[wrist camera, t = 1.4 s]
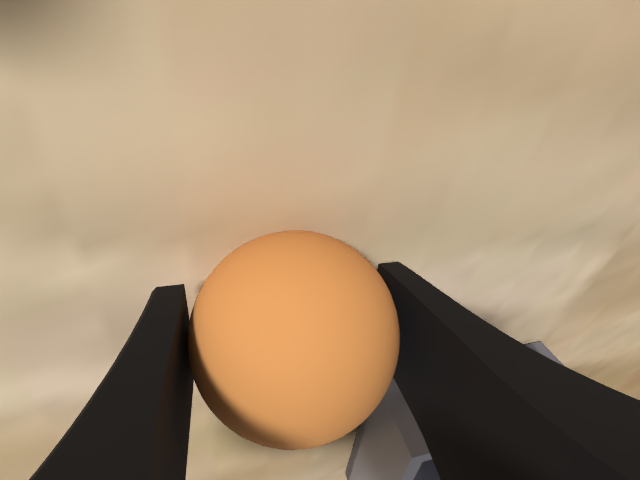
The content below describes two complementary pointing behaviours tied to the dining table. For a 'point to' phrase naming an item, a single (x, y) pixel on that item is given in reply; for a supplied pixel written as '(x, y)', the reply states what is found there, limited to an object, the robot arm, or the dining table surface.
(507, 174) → the dining table surface
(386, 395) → the grey open-top box
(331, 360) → the ball
